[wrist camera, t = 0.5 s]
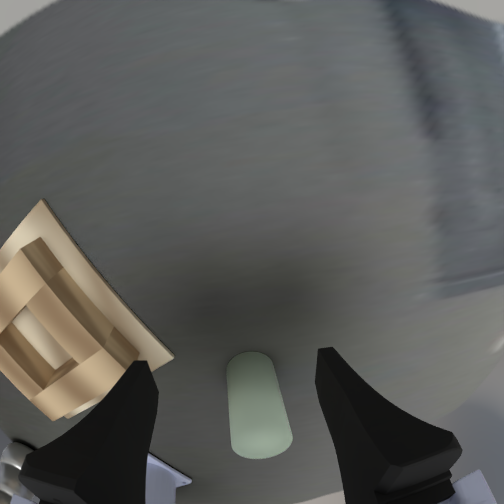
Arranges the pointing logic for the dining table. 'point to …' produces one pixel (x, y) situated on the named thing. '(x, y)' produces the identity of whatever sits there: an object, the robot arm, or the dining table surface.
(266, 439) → the dowel
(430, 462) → the robot arm
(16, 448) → the plastic bottle
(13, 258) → the socket block
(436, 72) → the dining table surface
